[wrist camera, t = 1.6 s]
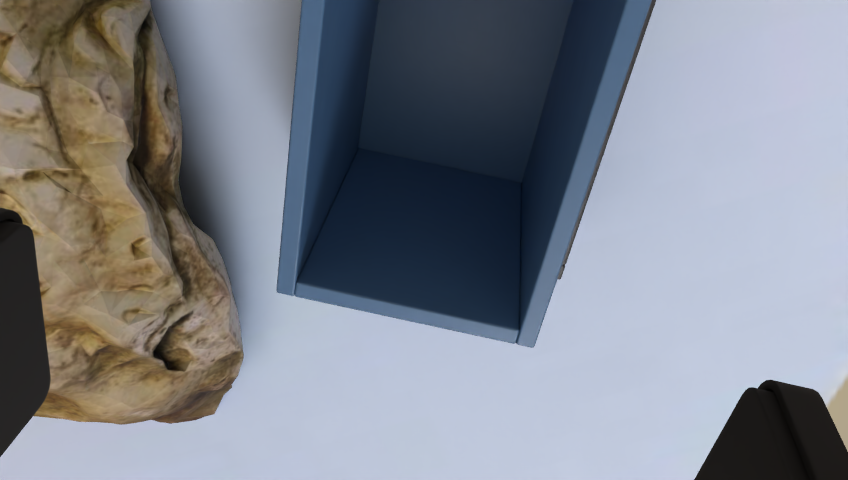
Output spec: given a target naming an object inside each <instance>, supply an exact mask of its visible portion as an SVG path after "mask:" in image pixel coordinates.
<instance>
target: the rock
mask: <svg viewBox="0 0 848 480" xmlns="http://www.w3.org/2000/svg"><path fill="white" fill-rule="evenodd" d="M181 152H182V121H181V115H180V109H179V102H178V93H177V83H176V76H175V73H174V70H173V68H172V65H171V62H170V59H169V57H168V54H167V51H166V49H165V46H164V43H163V40H162V38H161V35H160V32H159V29H158V27H157V24H156V21H155V18H154V16H153V13H152V9H151V3H150V0H0V208H5V209H9V210H13V211H15V212H17V213H18V214H19V215H20V217H21V218H22V221H23V224H24V225H27V226H29V227H30V228H31V229H32V231H33V235H34V242H35V250H36V258H37V267H38V275H39V283H40V292H41V300H42V308H43V317H44V325H45V333H46V342H47V350H48V358H49V367H50V375H51V382H50V388H49V391H48V394H47V396H46V398H45V401H44V402H43V404H42V405H41V407H40V408H39V409H38V410H37V412H36V413H35V414H34V415H33V416H39V417H49V418H60V419H68V420H73V421H79V422H105V423H115V424H130V423H137V422H142V421H146V420H155V421H158V422H166V423H171V424H172V423H178V422H185V421H192V420H197V419H199V418H202V417H204V416H208V415H212V414H214V413H215V411H216V409H217V407H218V405H219V403H220V401H221V399H222V397H223V395H224V394H225V393H226V392H227V391H228V390H229V389H231V388H232V385H231V384H232V383H233V382H234V380H235V379H236V377H237V376H238V373H239V370H240V367H241V364H242V361H243V347H242V339H241V330H240V322H239V317H238V311H237V307H236V304H235V301H234V297H233V294H232V290H231V284H230V281H229V277H228V274H227V270H226V267H225V265H224V262H223V259H222V257H221V255H220V253H219V251H218V249H217V247H216V245H215V243H214V241H213V239H212V238H210V237H209V236H208V235H207V234H205V233H204V232H203V231H201V230H200V229H199V228H198V227H196V226H195V225H194V224H193V223H192V221H191V219H190V217H189V215H188V213H187V211H186V209H185V207H184V205H183V201H182V196H181V191H180V186H179V181H178V179H179V172H180V165H181Z"/></svg>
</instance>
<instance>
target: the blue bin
mask: <svg viewBox="0 0 848 480" xmlns="http://www.w3.org/2000/svg"><path fill="white" fill-rule="evenodd" d="M651 1H652V0H302V4H301V16H300V27H299V39H298V50H297V62H296V73H295V85H294V96H293V108H292V119H291V131H290V142H289V154H288V165H287V177H286V188H285V200H284V211H283V223H282V234H281V246H280V257H279V269H278V280H277V292H278V293H282V294H286V295H291V296H294V295H295V296H296V297H300V298H305V299H310V300H314V301H319V302H324V303H328V304H333V305H337V306H342V307H347V308H351V309H356V310H361V311H365V312H370V313H374V314H379V315H384V316H388V317H393V318H398V319H402V320H407V321H411V322H416V323H421V324H425V325H430V326H435V327H439V328H444V329H448V330H453V331H458V332H462V333H467V334H472V335H476V336H481V337H485V338H490V339H495V340H499V341H504V342H509V343H513V344H514V343H517V344H518V345H522V346H527V347H534V346H535V343H536V340H537V337H538V334H539V331H540V328H541V325H542V322H543V319H544V316H545V313H546V311H547V308H548V305H549V302H550V299H551V296H552V293H553V290H554V287H555V284H556V281H557V278H558V275H559V272H560V269H561V266H562V263H563V260H564V258H565V255H566V252H567V249H568V246H569V243H570V240H571V237H572V234H573V231H574V228H575V225H576V222H577V219H578V216H579V213H580V210H581V207H582V204H583V202H584V199H585V196H586V193H587V190H588V187H589V184H590V181H591V178H592V175H593V172H594V169H595V166H596V163H597V160H598V157H599V154H600V151H601V149H602V146H603V143H604V140H605V137H606V134H607V131H608V128H609V125H610V122H611V119H612V116H613V113H614V110H615V107H616V104H617V101H618V98H619V96H620V93H621V90H622V87H623V84H624V81H625V78H626V75H627V72H628V69H629V66H630V63H631V60H632V57H633V54H634V51H635V48H636V45H637V42H638V40H639V37H640V34H641V31H642V28H643V25H644V22H645V19H646V16H647V13H648V10H649V7H650V4H651Z"/></svg>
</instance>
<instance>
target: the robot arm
mask: <svg viewBox="0 0 848 480" xmlns="http://www.w3.org/2000/svg"><path fill="white" fill-rule="evenodd" d="M50 382H51V375H50V367H49V358H48V350H47V342H46V333H45V325H44V317H43V308H42V300H41V292H40V283H39V275H38V267H37V258H36V250H35V242H34V235H33V231H32V229H31V228H30V227H29V226H27V225H24V224H23V221H22V218H21V217H20V215H19V214H18V213H17V212H15V211H13V210H9V209H5V208H0V457H1V455H2V454H3V453H4V452H5V450H6V449H7V448H8V447H9V445H10V444H11V443H12V442H13V440H14V439H15V438H16V437H17V435H18V434H19V433H20V432H21V430H22V429H23V428H24V427H25V425H26V424H27V423H28V422H29V420H30V419H31V418H32V417H33V415H34V414H35V413H36V412H37V410H38V409H39V408H40V407H41V405H42V404H43V402H44V401H45V398H46V396H47V394H48V391H49V388H50ZM694 480H848V452H847V449H846V447H845V445H844V443H843V441H842V439H841V437H840V435H839V433H838V431H837V429H836V427H835V424H834V422H833V420H832V418H831V416H830V414H829V412H828V410H827V408H826V405H825V403H824V401H823V399H822V397H821V396H820V395H819V393H818V392H817V391H815V390H813V389H809V388H805V387H800V386H796V385H791V384H787V383H782V382H778V381H773V380H766V381H765V382H763V383H762V384H761V385H760V386H759V387H758V389H757V388H748V389H747V390H745V392H744V393H743V394H742V396H741V398H740V400H739V401H738V403H737V405H736V407H735V409H734V410H733V412H732V414H731V416H730V417H729V419H728V421H727V423H726V424H725V426H724V428H723V430H722V432H721V433H720V435H719V437H718V439H717V440H716V442H715V444H714V446H713V448H712V449H711V451H710V453H709V455H708V456H707V458H706V460H705V462H704V463H703V465H702V467H701V469H700V471H699V472H698V474H697V476H696V478H695V479H694Z"/></svg>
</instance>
